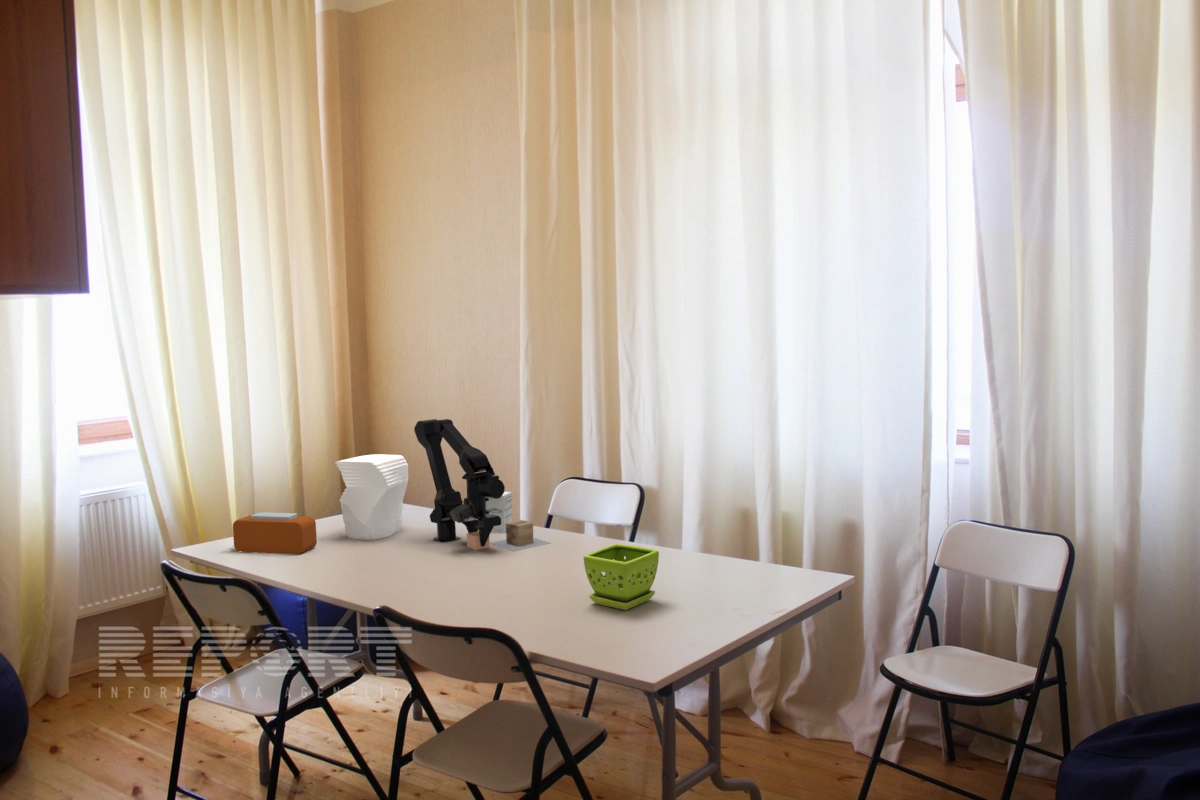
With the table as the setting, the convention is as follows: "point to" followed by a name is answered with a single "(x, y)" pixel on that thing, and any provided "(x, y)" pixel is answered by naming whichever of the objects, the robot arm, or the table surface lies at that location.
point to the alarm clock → (275, 533)
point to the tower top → (519, 527)
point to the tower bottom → (519, 539)
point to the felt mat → (514, 548)
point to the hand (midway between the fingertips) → (478, 544)
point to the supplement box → (501, 510)
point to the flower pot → (621, 575)
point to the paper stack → (373, 495)
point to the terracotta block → (475, 541)
